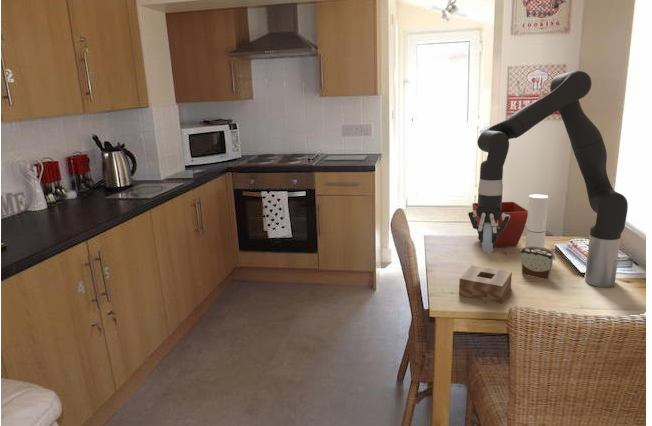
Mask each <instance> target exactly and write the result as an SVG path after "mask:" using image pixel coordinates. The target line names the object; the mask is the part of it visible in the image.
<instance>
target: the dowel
mask: <svg viewBox="0 0 652 426" xmlns="http://www.w3.org/2000/svg"><path fill="white" fill-rule="evenodd" d="M492 233H493V228H492V225H491V223H489V222H484V225H483V241H482V242H481V243H482V244H481V252H483V253H493V249H494V247H493V243H492Z"/></svg>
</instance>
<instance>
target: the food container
mask: <svg viewBox="0 0 652 426" xmlns="http://www.w3.org/2000/svg"><path fill="white" fill-rule="evenodd" d="M519 254H520V256H521V257H520V259H521V274H522V275H524V276H528V277H533V278H536V279H541V280H545V281H549V279H550V274H551V270H552V266H553V261H555V260H556V257H555V253H554V251H553V250H551V249H549V248H546V247H544V248H542V247H525V246H524V247H522V248H521V249H520V250H519Z"/></svg>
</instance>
